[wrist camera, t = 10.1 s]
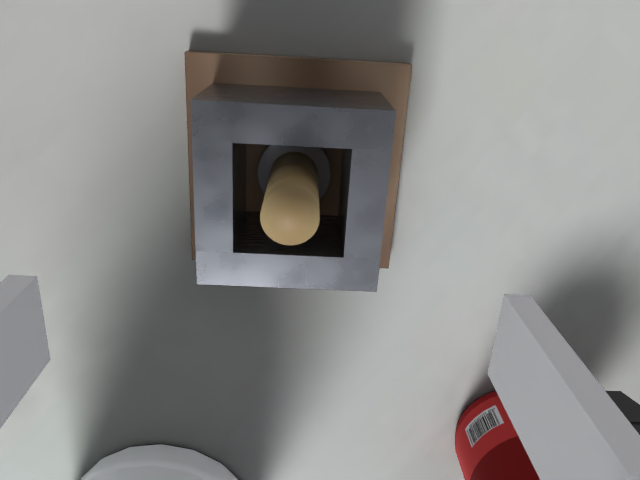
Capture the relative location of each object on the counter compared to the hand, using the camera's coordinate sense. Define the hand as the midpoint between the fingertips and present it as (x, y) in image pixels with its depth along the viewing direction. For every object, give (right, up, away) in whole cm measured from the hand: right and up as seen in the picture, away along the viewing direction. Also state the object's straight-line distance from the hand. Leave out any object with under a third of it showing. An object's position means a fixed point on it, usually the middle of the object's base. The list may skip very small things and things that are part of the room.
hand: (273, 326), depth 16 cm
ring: (0, +7, +16) cm, 17 cm away
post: (0, +7, +17) cm, 18 cm away
